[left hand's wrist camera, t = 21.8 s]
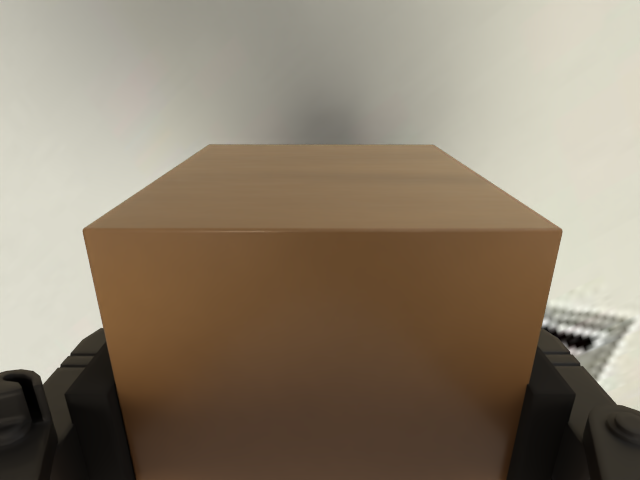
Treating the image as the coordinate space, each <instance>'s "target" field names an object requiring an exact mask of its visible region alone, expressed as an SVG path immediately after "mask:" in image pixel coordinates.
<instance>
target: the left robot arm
mask: <svg viewBox="0 0 640 480" xmlns="http://www.w3.org/2000/svg"><path fill="white" fill-rule="evenodd" d="M0 480H136V477H135V473H134V468H133V463H132V459H131V454H130V449H129V445H128V440H127V435H126V431H125V426H124V421H123V417H122V412H121V407H120V403H119V398H118V394H117V389H116V384H115V380H114V375H113V370H112V366H111V361H110V356H109V352H108V347H107V342H106V338H105V333H104V328H100V329H99V330H97V331H96V332H94V333H92V334H91V335H89V336H88V337H86V338H85V339H83V340H82V341H81V342H80V343H79V344H78V346H77V347H76V348H75V349H74V350H73V351H72V352H71V355H70V356H68V357H67V358H66V359H65V360H64V361H63V363H62V364H61V367H60V368H57V369H56V371H55V372H54V373H53V374H52V375H51V376H50V377H49V378H48V380H47V381H46V382H45V383H44V384H42V381H41V377H40V376H39V375H38V374H37V373H35V372H34V371H30V370H23V369H20V370H11V371H5V372H1V373H0ZM506 480H640V411H637V410H634V409H631V408H628V407H625V406H622V405H617V404H616V403H615V402H614V401H613V400H612V399H611V397H610V396H609V395H608V394H607V393H606V392H605V391H604V390H603V388H602V387H601V386H600V385H599V384H598V383H597V382H596V381H595V379H594V378H593V377H592V376H591V375H590V374H589V373H588V372H587V370H586V369H585V368H584V367H583V366H580V363H579V361H578V360H577V359H576V358H575V357H574V356H573V355H570V351H569V350H568V349H567V348H566V347H565V346H564V345H563V343H562V342H561V341H560V340H559V339H558V338H557V337H555V336H553V335H552V334H550V333H549V332H547V331H546V330H544V329H542V328H541V331H540V336H539V340H538V345H537V349H536V354H535V358H534V363H533V367H532V372H531V376H530V381H529V384H527V387H526V392H525V397H524V401H523V406H522V410H521V415H520V419H519V424H518V429H517V433H516V438H515V442H514V447H513V451H512V456H511V460H510V465H509V470H508V474H507V479H506Z"/></svg>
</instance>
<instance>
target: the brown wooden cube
mask: <svg viewBox="0 0 640 480" xmlns="http://www.w3.org/2000/svg"><path fill="white" fill-rule="evenodd" d="M83 235H84V240H85V245H86V249H87V254H88V259H89V263H90V268H91V273H92V277H93V282H94V286H95V291H96V296H97V300H98V305H99V310H100V314H101V319H102V324H103V328H104V333H105V338H106V342H107V347H108V352H109V356H110V361H111V366H112V370H113V375H114V380H115V384H116V389H117V394H118V398H119V403H120V407H121V412H122V417H123V421H124V426H125V431H126V435H127V440H128V445H129V449H130V454H131V459H132V463H133V468H134V473H135V477H136V480H506V479H507V474H508V470H509V465H510V460H511V456H512V451H513V447H514V442H515V438H516V433H517V429H518V424H519V419H520V415H521V410H522V406H523V401H524V397H525V392H526V387H527V384H529V381H530V376H531V372H532V367H533V363H534V358H535V354H536V349H537V345H538V340H539V336H540V331H541V327H542V322H543V318H544V313H545V309H546V304H547V300H548V295H549V291H550V286H551V281H552V277H553V272H554V268H555V263H556V259H557V254H558V250H559V245H560V241H561V236H562V229H561V228H559V227H558V226H556V225H555V224H553V223H552V222H550V221H549V220H547V219H546V218H544V217H543V216H541V215H540V214H538V213H537V212H535V211H534V210H532V209H531V208H529V207H527V206H526V205H524V204H523V203H521V202H520V201H518V200H517V199H515V198H514V197H512V196H511V195H509V194H508V193H506V192H505V191H503V190H502V189H500V188H499V187H497V186H496V185H494V184H492V183H491V182H489V181H488V180H486V179H485V178H483V177H482V176H480V175H479V174H477V173H476V172H474V171H473V170H471V169H470V168H468V167H467V166H465V165H464V164H462V163H461V162H459V161H457V160H456V159H454V158H453V157H451V156H450V155H448V154H447V153H445V152H444V151H442V150H441V149H439V148H438V147H436V146H435V145H221V144H209V145H208V146H206V147H205V148H203V149H202V150H200V151H199V152H197V153H196V154H194V155H193V156H191V157H190V158H188V159H187V160H185V161H184V162H182V163H181V164H179V165H178V166H176V167H175V168H173V169H172V170H170V171H169V172H167V173H166V174H164V175H163V176H161V177H160V178H158V179H157V180H155V181H154V182H152V183H151V184H149V185H148V186H146V187H145V188H143V189H142V190H140V191H139V192H137V193H136V194H134V195H133V196H131V197H130V198H128V199H127V200H125V201H124V202H122V203H121V204H119V205H118V206H116V207H115V208H113V209H112V210H110V211H109V212H107V213H106V214H104V215H103V216H101V217H100V218H99V219H97V220H96V221H94V222H93V223H91V224H90V225H88V226H87V227H85V228H84V229H83Z"/></svg>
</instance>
